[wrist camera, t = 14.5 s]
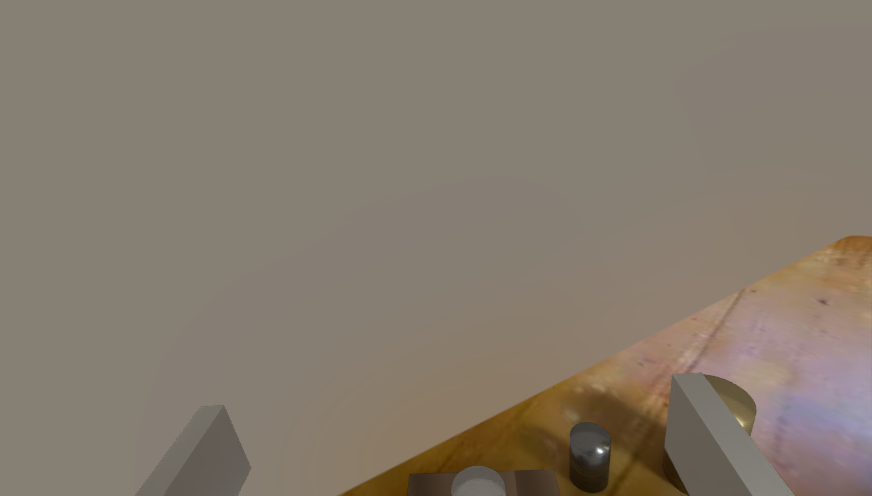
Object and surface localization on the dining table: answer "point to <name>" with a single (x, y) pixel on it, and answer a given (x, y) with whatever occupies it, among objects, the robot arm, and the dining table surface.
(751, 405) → the fat brass roller
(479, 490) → the steel roller
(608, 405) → the dining table surface
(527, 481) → the walnut block
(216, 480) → the robot arm
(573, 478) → the short dark roller
